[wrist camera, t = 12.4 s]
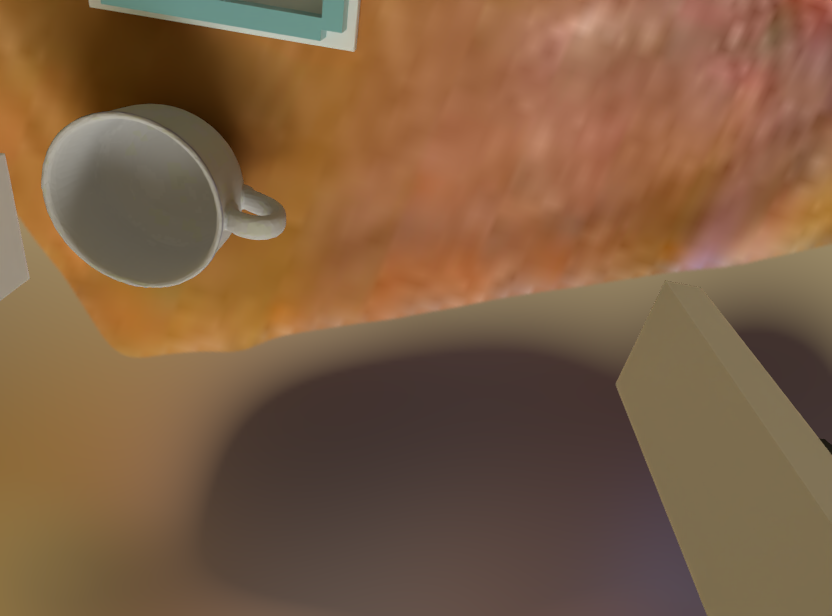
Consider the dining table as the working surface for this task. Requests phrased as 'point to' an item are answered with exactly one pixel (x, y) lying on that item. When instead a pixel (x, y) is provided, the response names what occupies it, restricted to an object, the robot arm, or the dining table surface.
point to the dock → (257, 17)
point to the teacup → (150, 194)
